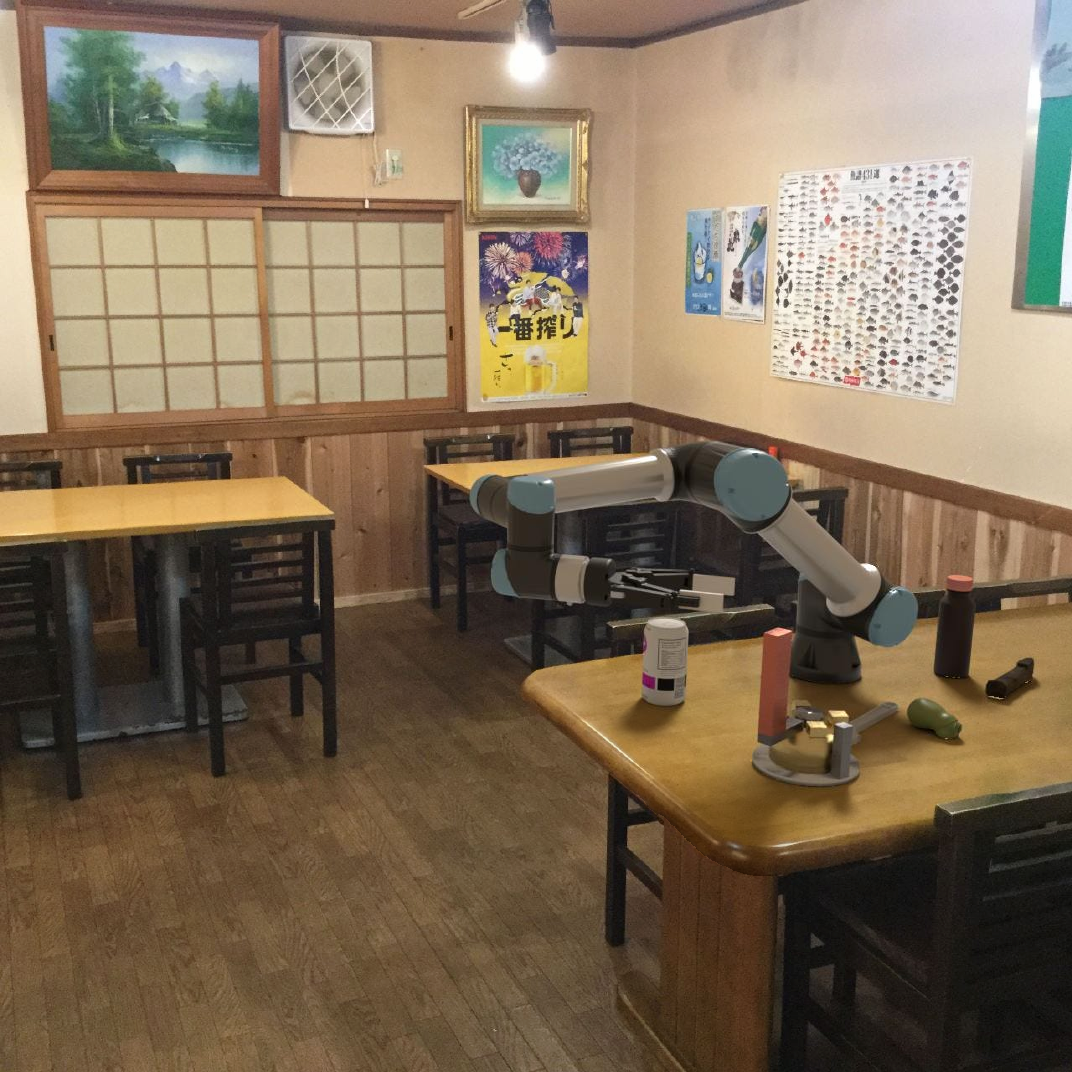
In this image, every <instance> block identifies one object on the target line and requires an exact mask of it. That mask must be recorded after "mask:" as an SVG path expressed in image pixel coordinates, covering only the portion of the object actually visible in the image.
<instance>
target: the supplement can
mask: <svg viewBox="0 0 1072 1072" xmlns="http://www.w3.org/2000/svg"><path fill="white" fill-rule="evenodd" d="M688 647H689V629H688V627H687V625H686V622H685V621H684V620H682V619H679V618H675V617H667V616H665V617H664V616H662V617H661V616H659V617H652V618H650V619H648V620H647V623H646V625H645V627H644V630H643V648H642V649H643V654H642V673H641V674H642V678H641V697H642V698H643V699H644V700H645V701H646V702H647V703H649V704H652V705H655V706H662V707H663V706H664V707H671V706H676V705H679V704H681V703H682V702H683V701H684V700H686V696H687V695H686V693H687V692H686V691H687V689H686V688H687V674H688V673H687V670H688V653H689V652H688V649H689V648H688Z"/></svg>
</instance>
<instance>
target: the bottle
mask: <svg viewBox="0 0 1072 1072" xmlns="http://www.w3.org/2000/svg"><path fill="white" fill-rule="evenodd" d="M973 584H974V578H973V577H970V576H968V575H961V574H951V575H948V576H947V577H946V586H945V587H946V591H947V594H945V596H943V597H942V598H941V599H940V601H939V609H938V617H937V618H938V619H937V626H936V627H937V629H936V639H935V650H934V651H935V652H934V660H933V661H934V662H933V671H934V672H933V673H935V674H936V673H937V674H936V675H938V676H940V675H941V676H940V677H943V676H948V677H955V678H954V679H963V678H962V677H965V678H966V676H967V677H968V676H969V674H970V667H971V666H970V665H971V655H972V649H973V648H972V645H973V639H974V637H973V636H974V625H975V615H976V607H977V605H976V603H975V601H974V600H973V598H972V597H971V593H972V592H973V587H974V585H973ZM948 677H947V678H948ZM958 677H960V678H958Z"/></svg>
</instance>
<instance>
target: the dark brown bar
mask: <svg viewBox="0 0 1072 1072" xmlns="http://www.w3.org/2000/svg"><path fill="white" fill-rule="evenodd" d="M1034 670H1035V659H1034V658H1033V657H1024V658H1022V659H1020V660H1018V661H1017V662H1016V663H1015V666H1014V668H1011V669H1010V670H1008V671H1007V672H1005V673H1003V674H1002V675H1000V676H998V677H997V678H995V679H989V680H988V681H987V682H986V683H985V691H984V692H985V694H986V696H987V695H988V696H994V697H999V698H1004V699H1005V698H1006V697H1007V695H1008V694H1010V693H1011V692H1012V691H1014V690H1017V688H1019V687H1020V686H1021V685H1024V684H1023V683H1025V682H1027V681H1029V680H1030V679H1031V678H1033V674H1034ZM1031 680H1032V679H1031ZM988 696H987V697H988ZM1005 696H1006V697H1005Z"/></svg>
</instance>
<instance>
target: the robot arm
mask: <svg viewBox="0 0 1072 1072" xmlns="http://www.w3.org/2000/svg"><path fill="white" fill-rule="evenodd" d="M788 480H789V477H788V473H787V471H786V469H785V467H784V465H783V464H782V463H781V462H780V461H779V460H778V459H777V458H776V457H774V456H773V455H771V454H770V453H767V452H765V451H763V450H761V449H757V448H752V447H751V448H750V447H742V446H737V445H734V444H729V443H726V442H722V441H716V440H699V441H694V442H687V443H686V442H685V443H682V444H675V445H671V446H664V447H657V448H653V449H651V450H650V451H649V453H648V454H647V455H644V456H636V457H629V458H623V459H617V460H609V461H604V462H603V461H601V462H596V463H590V464H583V465H576V466H570V467H563V468H555V469H550V470H549V469H548V470H543V471H538V472H537V471H536V472H528V473H524V474H515V475H508V476H502V475H501V474H491V473H490V474H485V475H481V476H480V477H478V478H477V479H476V480H475V481H474V482H473V484H472V486H471V489H470V491H469V502H470V504H471V508H472V509H473V510H474V512H475V513H477V514H478V515H479V516H481V517H482V518H483V519H484V520H486V521H491V522H493V523H495V524H497V525H499V526H501V527H504V528H506V530H507V531H506V533H507V535H506V536H507V537H506V538H507V540H506V541H507V542H506V548H500V549H499V550H497V552H496V553H495V554H494V557H493V559H492V562H491V563H492V566H491V569H490V578H491V584H492V587H493V588H494V591H496V593H498V594H500V595H505V596H511V597H515V598H519V599H535V600H544V601H545V600H546V601H554V602H566V604H567V605H568V606H572V605H573V604H574V603H575V604H584V603H586V604H587V605H590V606H599V607H609V606H610V605H611V604H612V603H614V604H616V603H618V604H626V605H631V606H636V607H641V608H647V609H648V608H649V609H652V610H657V611H663V612H667V613H668V612H670V614H673V615H674V614H678V609H681V610H683V609H684V610H693V611H700V612H701V611H702V612H711V613H723V610H724V596H734V595H735V586H736V583H735V582H736V577H730V576H729V577H728V576H722V575H721V576H719V575H710V574H709V575H707V574H699V573H695V569H696V568H693V567H689V569H673V568H672V569H671V568H670V569H669V568H668V569H667V568H644V567H636V566H633V567H631V568H630V569H626V570H625V571H621V572H619V571H618V569H617V564H616V562H615V561H614V559H612V558H604V557H596V556H595V557H594V556H593V557H591V558H589V557H588V555H587V556H586V555H574V554H573V555H572V554H564V553H563V554H561V553H560V554H559V553H554V546H555V545H554V544H555V542H554V541H555V540H554V537H555V520H556V516H555V515H556V514H558V513H565V512H566V513H567V512H572V511H577V510H585V509H590V508H591V509H592V508H597V507H601V506H602V507H604V506H609V505H614V504H615V505H616V504H619V503H620V504H622V503H627V502H633V501H639V500H646V499H651V498H654V499H656V501H658V502H668V501H685V502H691V503H696V504H699V505H702V506H706V507H707V508H711V509H713V510H717V511H719V512H720V513H721V514H724V516H726V518H728V519H729V520H730V521H731V522H732V523H733V524H735V526H737V527H738V528H739V529H740V530H741V532H743V533H745V534H751V535H752V534H758V535H759V536H760V537H761V538H762V539H763V540H764V541H766V542H767V543H768V544H769V545H770V546H771V547H772V548H773V549H774V550H775V551H776V552H777V553H779V555H781V556H782V557H783V558H784V559H785V560H786V561H787V562H788V563H789V564H790V565H791V566H792V567H793V568H795V569H796V570H797V571H798V572H799V577H798V580H797V584H798V586H797V599H796V600H797V605H796V622H795V625H796V626H795V633H794V635H793V636H792V643H791V658H790V673H789V676H791V677H793V678H797V679H799V680H804V681H807V682H813V683H820V684H847V683H852V682H854V681H857V680H859V679H860V678H861V677H862V670H863V669H862V661H861V656H860V652H859V647H858V645H857V641H856V640H857V639H856V638H859V639H861V640H864V641H865V642H869V643H871V645H874V646H878V647H879V646H880V647H882V648H893V647H894V646H898V645H900V644H902V643H903V642H904V641H905V640H907V638H908V637H909V636H910V634H911V633H912V632H913V629H914V627H915V625H916V622H917V620H918V612H919V603H918V600H917V598H916V596H915V594H914V593H913V592H912V591H910V590H909V589H907V588H906V587H904V586H902V585H901V586H898V585H895V584H894V583H893V582H891V580H889V579H888V578H887V577H886V576H885V575H884V574H883V573H882V572H881V571H879V569H878V568H877V567H876V566H874V565H872V564H870V563H860V562H859V561H857V559H855V558H854V557H853V556H852V555H851V554H850V553H849V551H847V550H846V549H845V548H844V547H843V546H842V545H841V544H840V543H839V542H838V541H837V540H836V539H835V538H834V537H832V535H831V534H830V533H829V532H828V531H827V530H826V529H825V528H824V527H823V526H822V525H820V524H819V522H817V520H815V519H814V518H813V517H812V516H811V515H810V514H809V513H808V512H807V511H806V510H805V509H804V508H803V507H802V505H800V504H799V503H798V502H797V501H796V500H795V499H794V498H793V493H794V492H793V488H792V485H791V484H790V483H789V481H788ZM676 590H677V591H676ZM678 590H679V591H678Z"/></svg>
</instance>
